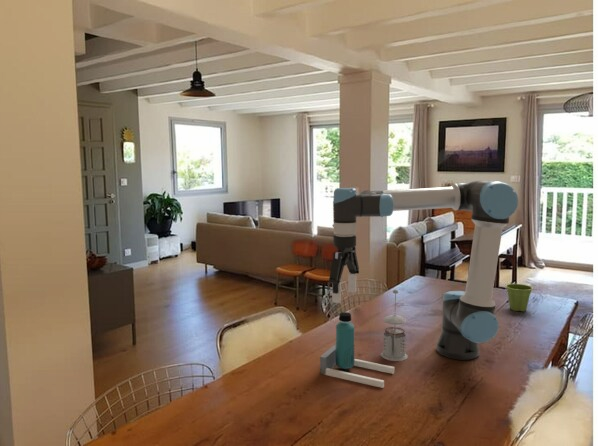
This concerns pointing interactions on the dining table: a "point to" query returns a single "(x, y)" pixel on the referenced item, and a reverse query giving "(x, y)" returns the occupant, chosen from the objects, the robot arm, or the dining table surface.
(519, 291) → the plant pot
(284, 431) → the dining table surface
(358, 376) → the guide track
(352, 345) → the beverage bottle
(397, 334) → the french press
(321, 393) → the dining table surface
